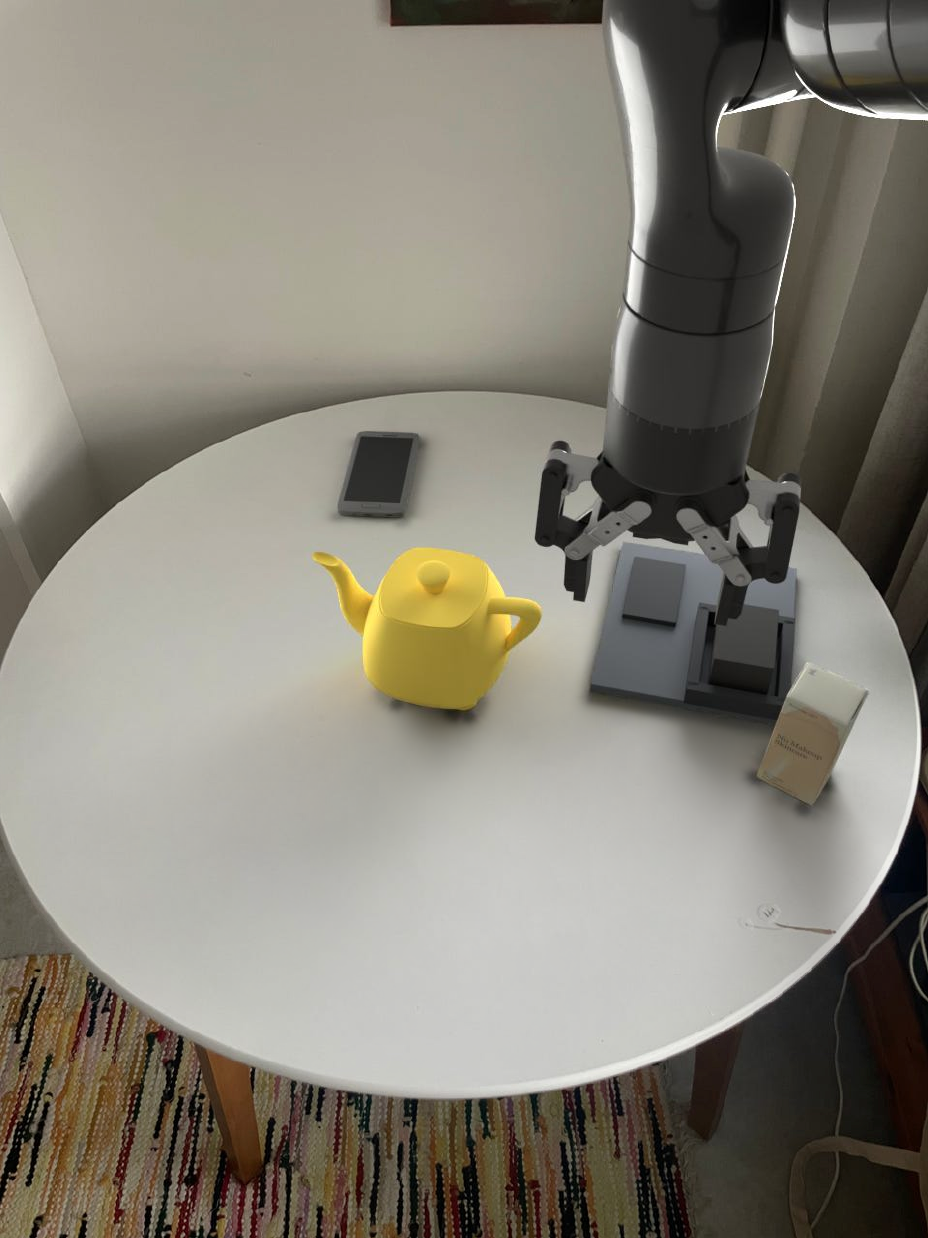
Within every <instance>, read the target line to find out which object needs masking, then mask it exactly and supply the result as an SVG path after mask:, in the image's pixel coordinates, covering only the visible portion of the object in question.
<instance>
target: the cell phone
mask: <svg viewBox="0 0 928 1238" xmlns="http://www.w3.org/2000/svg"><path fill="white" fill-rule="evenodd" d="M420 436H421V435H419V433H416V432H405V431H404V432H402V431H400V432H399V431H377V430H375V431H374V430H362V431H359V432H358V433H356V436H355V438H354V442H353V445H352V449H351V452H350V456H349V460H348V463H347V468H346V471H345V475H344V479H343V482H342V485H341V489H340V494H339V496H338V501H337V513H338V514H339V515H342V516H354V517H356V516H357V517H376V518H377V517H378V518H379V517H380V518H402V517H405V515H406V512H407V509H408V504H409V500H410V499H409V498H410V494H411V489H412V485H413V484H412V483H413V479H414V474H415V469H416V465H417V459H418V454H419V449H420V444H421V437H420Z"/></svg>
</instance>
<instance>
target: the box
mask: <svg viewBox="0 0 928 1238" xmlns="http://www.w3.org/2000/svg"><path fill="white" fill-rule="evenodd" d="M869 694H870V690H869V689H868V688H866V687H864V686H863V685H860V684H858V683H856V682H853V680H850V679H848V678H845V677H844V676H841V675H839V674H837V673H834V672H833V671H830V670H827V669H825V668H823V667H821V666H818V665H816V664H814V663H812V662H810V661H807V662H806V663H805V665H804V666H803V667H802V669H801V671H800V672H799V674H798V676H797V677H796V679H795V680H794V682H793V684H791V689H790V691H789V693H788V694H787V697H786V699H785V702H784V705H783V707H782V710H781V712H780V715H779V718H778V720H777V723H776V725H774V729H773V731H772V734H771V737H770V740H769V742H768V745H767V748H766V750H765V753H764V755H763V758H762V760H761V763H760V765H759V769H758V772H757V773H756V777H757V778H758V779H759V780H761V781H763V782H765V783H766V784H769V785H771V786H772V787H775V788H776V789H778V790H780V791H782V792H784V793H786V794H787V795H789V796H791V797H793V798H795V799H797V800H799V801H801V802H803V803H805V804H807V805H809V806H813V805H814V804H815V802H817V799H818V798H819V796H820V795H821V793H822V792H823V789H824V788H825V786H826V784H827V782H828V780H829V779H830V777H831V775H832V773H833V770H834V768H835V767H836V765H837V762H838V759H839V758H840V755H841V754H842V751H843V749H844V747H845V744H846V743H847V740H848V738H849V736H850V734H851V732H852V731H853V730H852V729H853V728H854V725H855V724H856V721H857V718H858V717H859V714H860V712H861V710H862V708H863V706H864V704H865V702H866V700H867V697H868V696H869Z"/></svg>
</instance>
